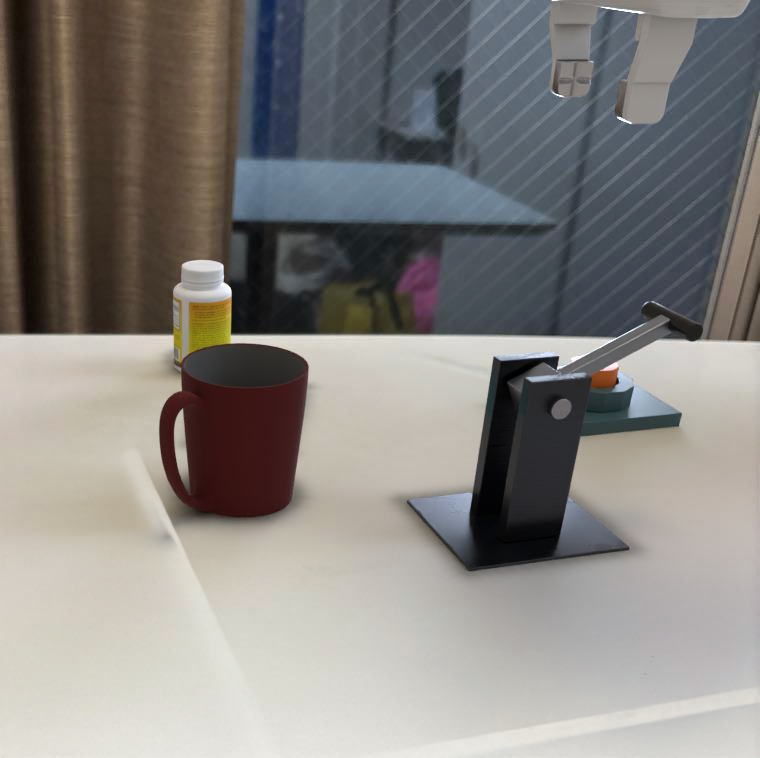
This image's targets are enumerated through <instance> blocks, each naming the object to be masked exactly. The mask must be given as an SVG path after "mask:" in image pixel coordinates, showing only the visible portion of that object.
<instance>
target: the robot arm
mask: <svg viewBox="0 0 760 758" xmlns="http://www.w3.org/2000/svg"><path fill="white" fill-rule="evenodd" d="M750 2H751V0H551V5H550V14H549V20H548V26H549V38H550V48H551V59H552V63H551V64H552V65H551V71H550V77H549V84H548V85H549V86H548V88H549V91H550V92H551V94H553V95H555V96H559V97H562V98H584V97H585V96H586V95H588V94H589V92H590V90H591V85H592V82H591V81H592V80H591V79H592V78H593V74H594V67H595V61H592V60H591V42H592V41H591V39H592V25H595V24H596V23H597V17H598V12H599V8H601V9H603V8H604V9H609V10H617V11H623V12H630V13H637V14H638V16H637V21H636V26H635V27H636V28H635V34H634V41H635V42H638V45H637V47H636V51H635V54H634V57H633V60H632V63H631V66H630V69H629V71H628V72H629V73H628V75H627V77H626V79H625V78H623V79H622V78H621V79H619V85H618V89H617V101H616V103H615V107H614V114H615V116H616V117H617V119H619V120H621V121H623V122H626V123H628V124H630V125H654V124H657V123H659V122H660V121H661V120H662V119H663V116H664V115H665V111H666V106H667V100H668V96H669V92H670V86H671V83H672V82H673V81H674V79H675V77H676V75H677V73H678V71H679V69H680V68H681V66H682V64H683V63H684V60H685V59H686V57H687V55H688V53H689V51H690V49H691V47H692V46H693V43H694V38H695V34H696V30H697V26H698V25H697V24H698V19H724V18H725V19H726V18H727V19H729V18H737V17H739V16H741V15H742V14H743V13H744V11H745V10H746V9H747V7H748V6H749V4H750Z"/></svg>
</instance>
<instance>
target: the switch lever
mask: <svg viewBox="0 0 760 758" xmlns="http://www.w3.org/2000/svg"><path fill="white" fill-rule="evenodd" d="M640 315H641V317H642V318H643V319H645V320H647V321H646V322H645V323H643V324H641V325H639V326H637V327H635V328H633V329H631V330H630V331H628V332H626V333H624V334H622V335H620V336H618V337H617V338H615V339H613V340H610V341H608V342H606V343H605V344H603V345H601V346H599V347H598V348H595V349H594V350H592V351H590V352H589V353H586V354H584V355H585V356H583V357H581V358H579V359H577V360H575V361H573V362H571V361H570V362H569V363H568V364H565V365H566V366H564V367H562V368H560V369H558V370H555V369H553V368H551V367H550V366H548V365H547V364H545V363H541V364H539V365H537V366H535V367H534V368H532V369H530V370H528V371H526V372H524V373H522V374H520V375H519V376H517V377H515V378H513V379H511V380H509V381H508V382H507V384H508V387H509V391H510V394H511V397H512V401H513V404H514V408H515V410H516V411H517V412H518V410H519V404H520V398H521V392H522V386H523V380H524V378H527V377H538V376H550V375H561V374H572V373H586V374H588V375H589V376H591V375H593V374H595V373H597V372H598V371H600V370H602V369H604V368H606V367H608V366H610V365H612V364H613V363H615V362H617V363H618V361H621V360H623V359H625V358H627V357H628V356H630V355H632V354H634V353H636V352H638V351H640V350H641V349H643V348H645V347H647V346H649V345H651V344H653V343H655V342H657V341H659V340H660V339H662V338H664V337H666V336H668V335H669V334H671V333H672V334H675V335H677V336H678V337H680V338H682V339H684V340H686V341H688V342H696V341H698V340H700V338H701V337H702V335H703V333H704V327H703V325H702V324H701V323H699V322H697V321H694V320H692V319H690V318H689V317H686V316H684V315H682V314H680V313H678V312H676V311H674V310H672V309H670V308H668V307H665V306H663V305H662V304H659V303H657V302H655V301H651V300H650V301H646V302H645V303H644V304H643V305H642V306H641V309H640Z"/></svg>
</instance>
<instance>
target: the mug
mask: <svg viewBox="0 0 760 758" xmlns="http://www.w3.org/2000/svg"><path fill="white" fill-rule="evenodd" d="M309 369H310V366H309V363H308V361H307V360H306V359H305V358H304V357H303V356H301V355H300V354H298V353H296V352H294V351H292V350H289V349H286V348H283V347H278V346H274V345H268V344H262V343H261V344H260V343H244V342H238V343H237V342H236V343H231V344H221V345H214V346H209V347H205V348H201V349H198V350H196V351H193V352H191V353H189V354H188V355H187V356H186V357H184V359H183V360H182V362H181V372H180V375H181V376H180V381H181V382H180V383H181V385H180V386H181V390H180V391H176V392H174V393H172V394H171V395H170V396H169V397H168V398H167V399H166V400H165V402H164V404H163V406H162V408H161V411H160V417H159V421H158V422H159V423H158V440H159V441H158V442H159V449H160V457H161V462H162V466H163V470H164V474H165V475H166V479H167V482H168V484H169V486H170V488H171V489H172V491H173V492H174V494H175V495H176V497H177V498H178V499H179V500H180V501H181V503H183V504H184V505H186V506H187V507H189V508H191V509H193V510H195V511H198V512H203V513H206V514H214V515H217V516H222V517H228V518H239V519H245V518H246V519H248V518H250V519H251V518H259V517H265V516H269V515H272V514H275V513H277V512H280V511H282V510H283V509H285V508H286V507H288V506H289V504H290V503H291V502H292V498H293V493H294V487H295V481H296V474H297V473H296V472H297V467H298V461H299V454H300V447H301V439H302V433H303V426H304V419H305V418H304V417H305V410H306V403H307V395H308V394H307V393H308V386H309V385H308V384H309ZM181 411H182V412H183V413H182V415H183V428H184V440H185V449H186V460H187V461H186V462H187V471H188V472H187V473H188V482H189V483H188V484H189V490H187V488H186V486H185V485H184V481H183V480H182V476H181V474H180V470H179V467H178V461H177V454H176V444H175V427H176V420H177V418H178V416H179V414H180V413H181Z"/></svg>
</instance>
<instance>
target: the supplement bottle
mask: <svg viewBox="0 0 760 758" xmlns="http://www.w3.org/2000/svg"><path fill="white" fill-rule="evenodd" d="M224 269H225V268H224V264H223V263H221V262H218V261H215V260H210V259H209V260H208V259H196V260H188V261H186V262H184V263H182V264H181V275H180V278H181V280H180V281H181V282H179V283H177V284H176V285H175V286H174V288H173V290H172V291H173V292H172V315H173V316H172V317H173V318H172V319H173V321H172V325H173V366H174V367H175V369H176V370H177V371H178V372H180V373H181V362H182V360H183V359H184V357H186V356H187V355H188V354H189V353H191V352H193V351H196V350H198V349H201V348H205V347H209V346H214V345H221V344H232V295H233V293H232V289H231V288H232V287H230V286H229V285H228V284H227V283H225V282H224V281H225V279H224V278H225V275H224Z"/></svg>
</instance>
